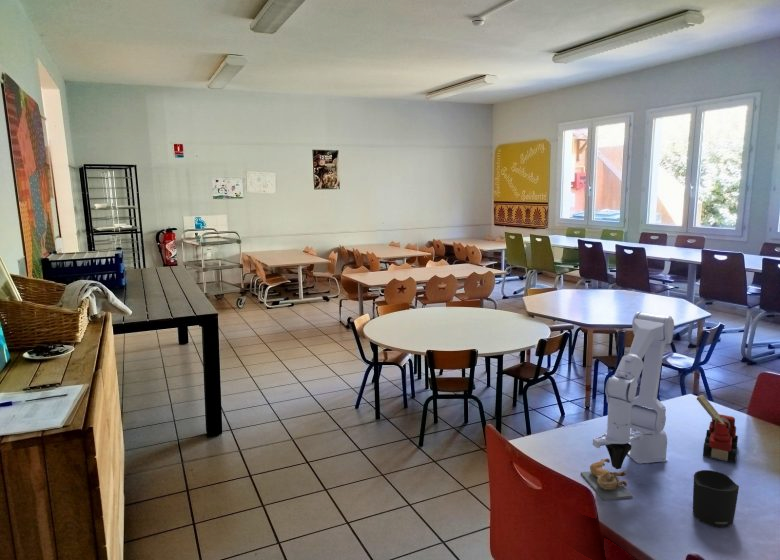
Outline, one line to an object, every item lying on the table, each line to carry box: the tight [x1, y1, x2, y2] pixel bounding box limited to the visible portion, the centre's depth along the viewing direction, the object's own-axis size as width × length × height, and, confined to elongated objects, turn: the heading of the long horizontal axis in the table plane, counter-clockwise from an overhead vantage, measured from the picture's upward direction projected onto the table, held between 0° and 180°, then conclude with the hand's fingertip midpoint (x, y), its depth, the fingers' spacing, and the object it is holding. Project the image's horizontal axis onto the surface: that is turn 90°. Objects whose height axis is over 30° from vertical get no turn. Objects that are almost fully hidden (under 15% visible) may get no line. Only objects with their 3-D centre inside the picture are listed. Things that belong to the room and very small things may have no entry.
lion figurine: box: [589, 458, 628, 490], centre depth 148 cm, size 15×5×9 cm
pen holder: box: [692, 469, 740, 528], centre depth 132 cm, size 9×9×10 cm
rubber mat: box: [580, 470, 633, 501], centre depth 147 cm, size 8×13×1 cm, turn 7°
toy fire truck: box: [696, 394, 739, 464], centre depth 163 cm, size 11×16×18 cm
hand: (616, 467), depth 147 cm, fingers closed
